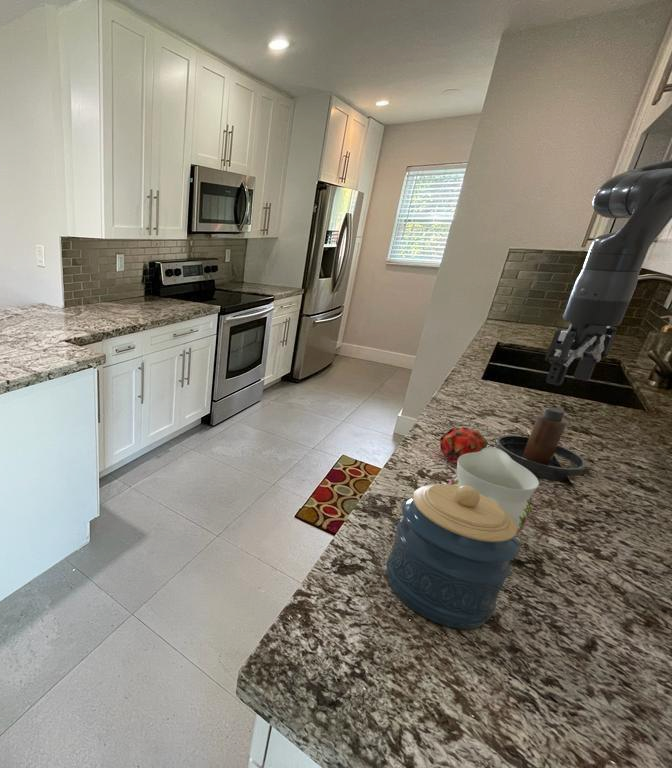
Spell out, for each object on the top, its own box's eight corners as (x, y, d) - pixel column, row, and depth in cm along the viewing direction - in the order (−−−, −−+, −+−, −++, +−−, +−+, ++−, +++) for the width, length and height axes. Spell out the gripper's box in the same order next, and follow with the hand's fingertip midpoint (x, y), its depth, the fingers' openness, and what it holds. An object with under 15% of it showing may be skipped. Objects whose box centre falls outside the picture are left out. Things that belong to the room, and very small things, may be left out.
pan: (568, 459, 95) (573, 445, 94) (590, 492, 83) (597, 477, 82) (487, 442, 103) (492, 429, 101) (497, 470, 90) (502, 456, 89)
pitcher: (430, 557, 65) (454, 484, 60) (437, 501, 79) (457, 438, 74) (519, 591, 59) (553, 513, 54) (509, 524, 73) (536, 457, 68)
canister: (514, 619, 55) (563, 510, 49) (440, 643, 51) (482, 530, 45) (429, 550, 66) (460, 456, 60) (364, 566, 63) (389, 467, 57)
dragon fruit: (470, 459, 97) (448, 482, 91) (442, 430, 100) (419, 450, 94) (503, 443, 91) (482, 467, 84) (472, 413, 94) (450, 434, 87)
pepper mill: (545, 460, 93) (567, 408, 89) (551, 470, 90) (574, 416, 85) (519, 454, 96) (538, 403, 91) (523, 463, 92) (544, 411, 87)
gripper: (603, 301, 67) (568, 393, 73) (651, 297, 72) (614, 384, 77) (549, 294, 74) (520, 379, 79) (596, 291, 78) (566, 372, 84)
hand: (567, 381), depth 78 cm, fingers open, 8 cm apart
